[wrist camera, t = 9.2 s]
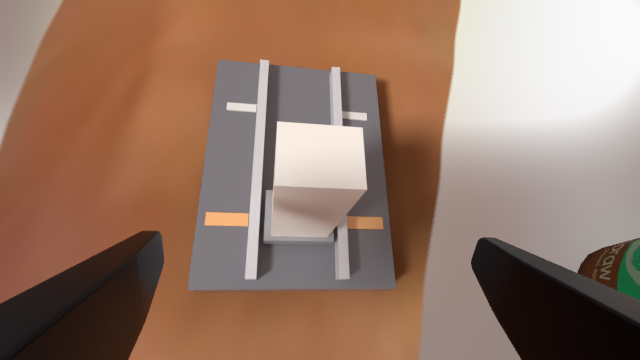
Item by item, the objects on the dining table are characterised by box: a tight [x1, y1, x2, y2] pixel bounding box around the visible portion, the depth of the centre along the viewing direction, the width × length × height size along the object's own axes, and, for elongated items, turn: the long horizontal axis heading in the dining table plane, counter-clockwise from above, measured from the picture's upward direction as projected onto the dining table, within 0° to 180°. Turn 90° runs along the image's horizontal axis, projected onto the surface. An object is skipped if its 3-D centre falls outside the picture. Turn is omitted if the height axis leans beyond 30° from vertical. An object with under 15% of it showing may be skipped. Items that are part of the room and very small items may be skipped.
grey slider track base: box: [187, 60, 396, 292], centre depth 22 cm, size 16×12×3 cm
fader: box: [264, 121, 367, 245], centre depth 15 cm, size 3×4×9 cm
